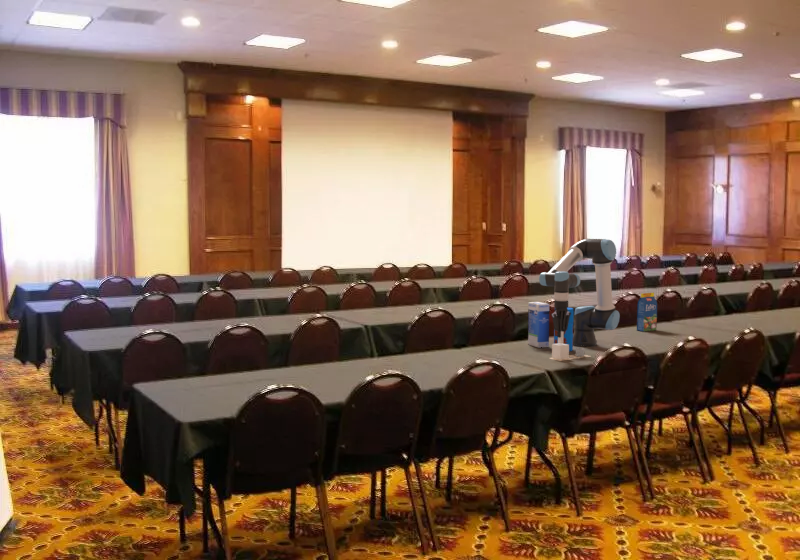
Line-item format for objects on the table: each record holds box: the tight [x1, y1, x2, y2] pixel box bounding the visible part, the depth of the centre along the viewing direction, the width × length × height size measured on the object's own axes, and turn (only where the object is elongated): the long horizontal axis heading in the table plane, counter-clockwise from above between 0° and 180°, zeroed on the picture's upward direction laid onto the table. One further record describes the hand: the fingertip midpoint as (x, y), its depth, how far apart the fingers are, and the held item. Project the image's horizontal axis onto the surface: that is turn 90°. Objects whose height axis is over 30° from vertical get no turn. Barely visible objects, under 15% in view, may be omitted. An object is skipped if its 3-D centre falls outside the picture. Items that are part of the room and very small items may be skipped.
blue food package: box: [636, 292, 658, 332], centre depth 569 cm, size 6×12×25 cm, turn 120°
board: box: [548, 353, 591, 362], centre depth 471 cm, size 24×9×1 cm, turn 124°
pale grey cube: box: [575, 347, 585, 357], centre depth 474 cm, size 3×3×4 cm
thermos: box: [553, 306, 575, 352], centre depth 492 cm, size 11×11×25 cm
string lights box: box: [527, 301, 550, 349], centre depth 511 cm, size 13×8×26 cm, turn 20°
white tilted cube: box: [551, 343, 570, 361], centre depth 467 cm, size 6×6×8 cm
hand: (560, 343), depth 467 cm, fingers closed
